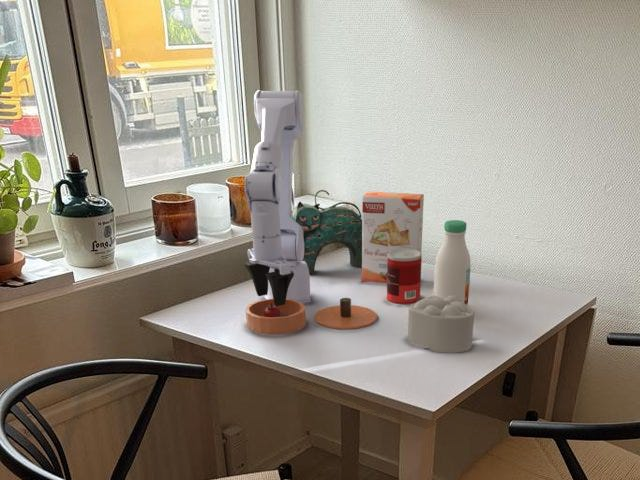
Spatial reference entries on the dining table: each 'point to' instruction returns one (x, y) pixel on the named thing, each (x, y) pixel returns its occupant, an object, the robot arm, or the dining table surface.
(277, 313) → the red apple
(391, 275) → the canned food
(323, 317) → the lid
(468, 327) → the lumpy-topped squat cylinder
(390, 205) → the cracker box
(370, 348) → the dining table surface
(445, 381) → the dining table surface
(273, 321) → the pot
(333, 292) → the dining table surface
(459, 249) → the milk bottle
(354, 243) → the ceramic cat
